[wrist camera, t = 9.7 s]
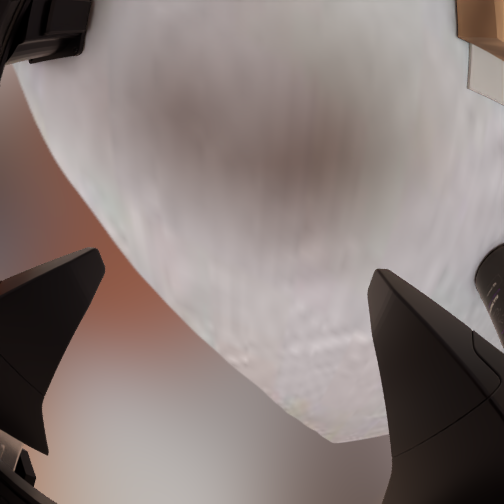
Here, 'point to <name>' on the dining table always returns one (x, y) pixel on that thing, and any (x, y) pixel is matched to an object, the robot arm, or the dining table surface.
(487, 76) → the felt pad
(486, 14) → the walnut block
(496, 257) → the supplement bottle
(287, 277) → the dining table surface
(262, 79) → the dining table surface
